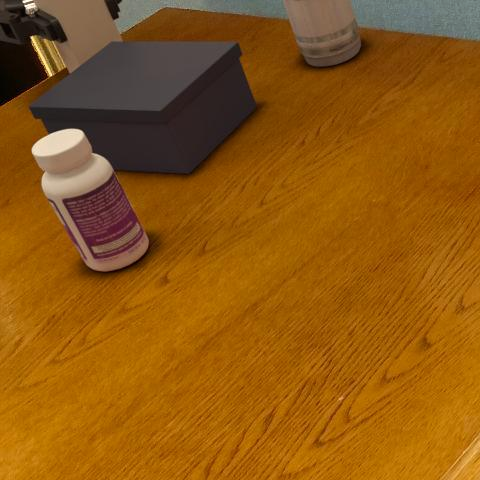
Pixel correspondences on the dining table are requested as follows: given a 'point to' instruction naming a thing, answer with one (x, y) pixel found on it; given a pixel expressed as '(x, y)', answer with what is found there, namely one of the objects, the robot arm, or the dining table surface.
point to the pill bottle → (89, 201)
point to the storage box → (152, 103)
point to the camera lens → (324, 30)
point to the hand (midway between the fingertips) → (86, 19)
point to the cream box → (81, 28)
